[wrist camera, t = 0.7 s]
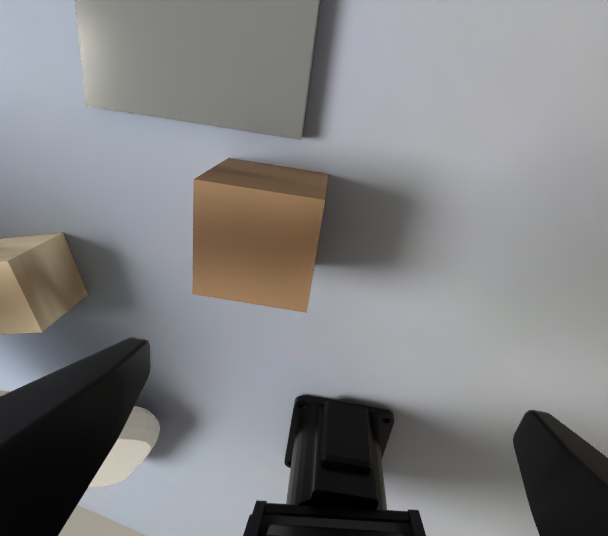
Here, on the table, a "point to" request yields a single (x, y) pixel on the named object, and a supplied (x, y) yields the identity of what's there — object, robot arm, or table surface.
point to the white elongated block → (127, 447)
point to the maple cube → (36, 282)
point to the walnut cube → (257, 233)
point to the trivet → (201, 60)
